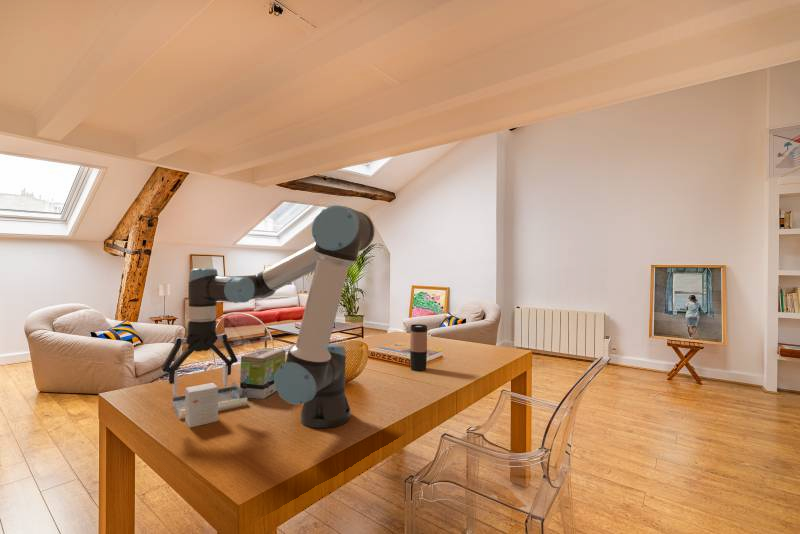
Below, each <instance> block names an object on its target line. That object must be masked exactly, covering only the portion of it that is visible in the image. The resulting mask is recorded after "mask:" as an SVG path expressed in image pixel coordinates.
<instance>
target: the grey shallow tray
mask: <svg viewBox="0 0 800 534" xmlns="http://www.w3.org/2000/svg"><path fill="white" fill-rule="evenodd" d="M230 384H231V385H230V386H227V387H221V388H220V387H219V388H218V412H221V411H224V410H230V409H235V408H238V407H239V408H240V407H245V406H248V398H247V397H244V396H243V389H241V388H240V385H238V384H237V383H236V382H235V381H233V382H231V383H230ZM171 399H172V401H171V403H172V408H173V410H174V412H175V413H176V416H177V417H178V419H179V420H183V419H185V394H181V395H176V396H172V397H171Z"/></svg>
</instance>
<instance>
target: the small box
mask: <svg viewBox="0 0 800 534" xmlns="http://www.w3.org/2000/svg"><path fill="white" fill-rule="evenodd" d="M218 389H219V387H218V386H217V385H216V384H215V383H214V382H210V383H204V384H199V385H194V386H187V387H185V390H184V391H185V393H184V395H185V418H184V419H185V424H186V425H187V427H188V428H189V429H191V428H195V427H199V426H202V425H203V426H204V425H207V424H211V423H216V422H218V421H219V411H218Z"/></svg>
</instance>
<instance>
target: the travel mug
mask: <svg viewBox="0 0 800 534" xmlns="http://www.w3.org/2000/svg"><path fill="white" fill-rule="evenodd" d="M409 343H410V346H409V347H410V348H409V349H410V350H409V351H410V352H409V354H410V357H409V358H410V370H411V371H414V372H425V371H426V370H427V357H428V325H426V324H421V323H420V324H419V323H418V324H411V325H410V341H409Z"/></svg>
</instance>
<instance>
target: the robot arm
mask: <svg viewBox="0 0 800 534" xmlns="http://www.w3.org/2000/svg"><path fill="white" fill-rule="evenodd" d="M375 233H376V232H375V225H374V223H373V221H372V219H371V218H370V217H369V216H368V215H367V214H366V213H363V212H361V211H359V210H356V209H353V208H350V207H347V206H346V205H339V204H338V205H336V204H334V205H329V206H327V207H324V208H322V209H321V210H320V211H318V213H317V214H316V216H315V217H314V218H313V221H312V224H311V235H312V237H313V240H314V242H313V243H312V244H310V245H308V246H305V247H304V248H303V249H301V250H298V251H297V252H295V253H294V254H291V255H289V256H287V257H286V258H284V259H282V260H281V261H278V262H277V263H275V264H273V265H271V266H270V267H267V268H266V269H264V270H262V271H260V272H258V273H256V274H254V275H252V274H251V275H232V276H230V275H226V276H225V275H218V270H217V269H216V268H208V267H207V268H200V267H198V268H195V267H194V268H192V269H190V271H189V274H188V275H189V277H188V314H187V315H188V316H187V319H188V322H187V336H186V337H180V336H177V337H175V339H174V344H173V347H172V349H171V350H170V351H169V354H168V356H167V357H166V358H165V361H164V362H163V364H162V366H161V371H162V372H164V373H168V383H169V384H170V385H172V394H173V397H175V396H178V377H179V376H178V375H179V374H178V371H177V370H178V369H179V368H180V366H181V365H182V364H183V363H185V362H184V361H186V360H187V359H188V357H189V356H190V355H191V354H192V353H193V352H196V353H199V352H202V351H203V352H204V351H209V350H210V349H211V350H212V351H214V353H215V354H216V355H217V356H218V357H219V358H220V359H221V360H222V361H223V362H224V363H225V364H224V363H223V364H222V382H221V383H222V386H223V388H225V387H228V377H229V376H231V375H232V366H233V364H234V363H237V362H238V358H237V356H236V354H235V352H234V350H233V349H232V347H231V345H230V343H229V341H228V335H227V334H226V333H224V332H222V333H221V334H217V320H216V318H217V302H226V303H227V302H228V303H234V304H239V303H248V302H249V301H250V300H257V299H265V298H268V297H271V296H274V294H275V293H276V292H277V290H279V289H282V288H283V287H285V286H287V285H288V284H289V285H290V284H291V283H293V282H295V281H297V280H299V279H301V278H302V277H305V276H306V275H309V274H310V273H312V272H313V276H312V280H311V285H310V288H309V291H308V296H307V299H306V303H305V308H304V311H303V315H302V319H301V323H300V326H299V331H298V335H297V339H296V342H295V343H294V344H292V345H290V346H289V347H288V351H287V355H286V357H285V363H284V364H282V365H281V366H280V367H279V368H278V369H277V371H276V373H275V376H274V384H275V388H276V390H277V391H276V392H277V393H278V396H279V397H280V398H281V399H282V400H283V401H284V402H286V403H288V404H291V405H296V406H298V405H302V408H301V412H300V422H301V424H303V425H304V426H306V427H308V428H309V427H310V428H316V429H328V428H335V427H338V426H342V425H344V424H346V423H348V421H350V419H351V407H350V404H349V401H348V398H347V395H346V357H347V355H346V348H345V345H344V346H343V345H342V344H337V343H330V340H331V337H332V334H333V333H332V332H333V328H334V324H335V321H336V317H337V314H338V310H339V306H340V302H341V299H342V294H343V291H344V286H345V282H346V279H347V275H348V272H349V267H350V266H352V265H354V264H355V263H356V262H357V259H358V255H359V252H362V251H364V250H365V249H367V248H369V246H370V245H371V244H372V242H373V240H374V239H375V238H374V237H375ZM217 340H219V341H220V342H221V343H222V345H223V347H224V348H225V350H226V352H227V354H228V356H229V358H230V359H229V358H228V357H227V356H226V355H225V354H224V353H223V352H222V351H221V349H219V348H218V347H217V346H216V345H215V343H216V342H217ZM185 343H186V344H187V345H188V346H187V347H186V348H185V350H184V351H183V352H182V353H181V354H180V356H179V357H178V358H177V359H176V360H175V361H174V359H175V358H176V356H177V354H178V352H179V350H180V349H181V346H183V345H184V344H185ZM173 361H174V362H173Z"/></svg>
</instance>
